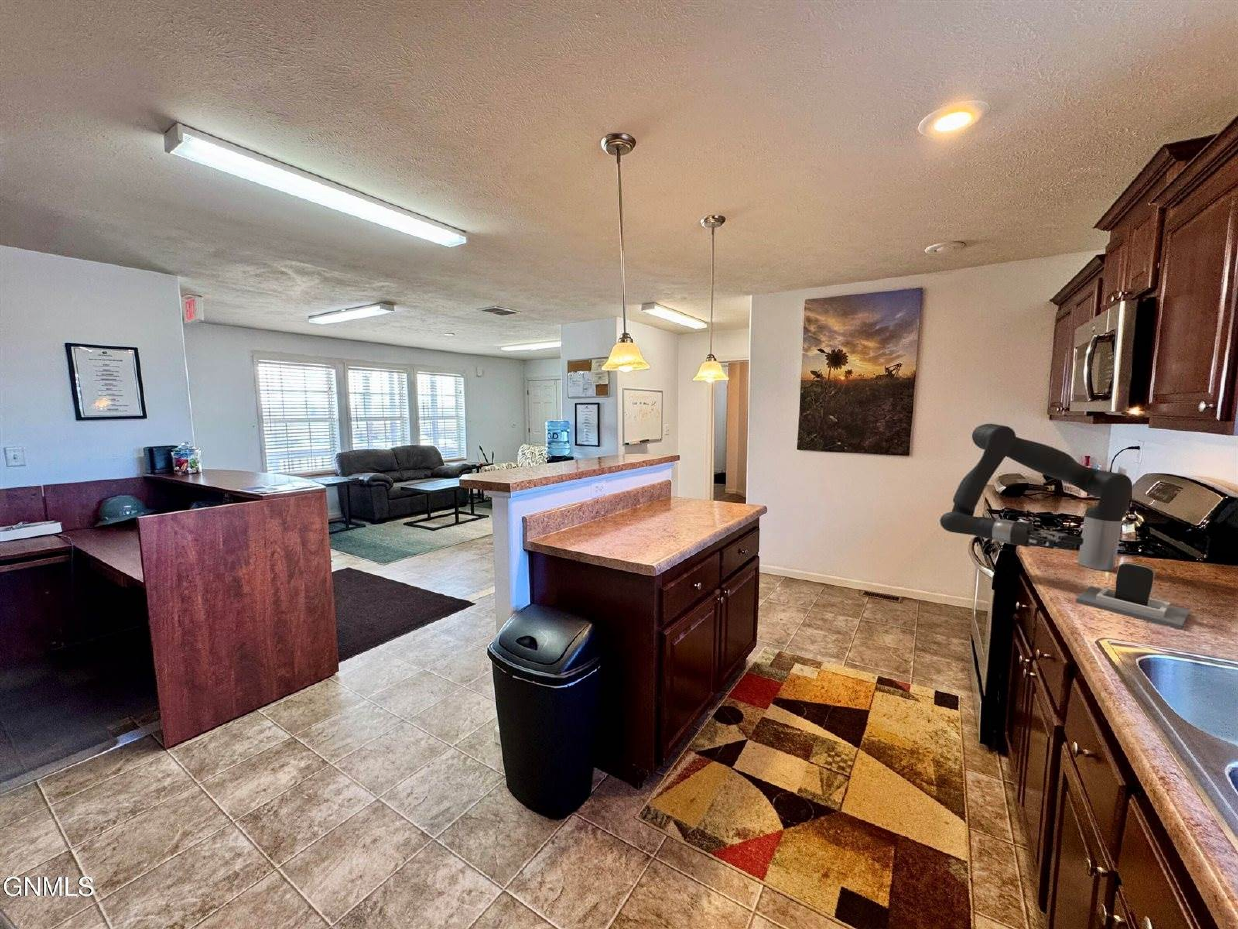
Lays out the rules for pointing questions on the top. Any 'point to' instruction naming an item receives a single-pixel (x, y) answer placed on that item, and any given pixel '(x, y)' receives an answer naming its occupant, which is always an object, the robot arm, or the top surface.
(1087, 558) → the robot arm
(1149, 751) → the top surface
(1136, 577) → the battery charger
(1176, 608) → the holder
